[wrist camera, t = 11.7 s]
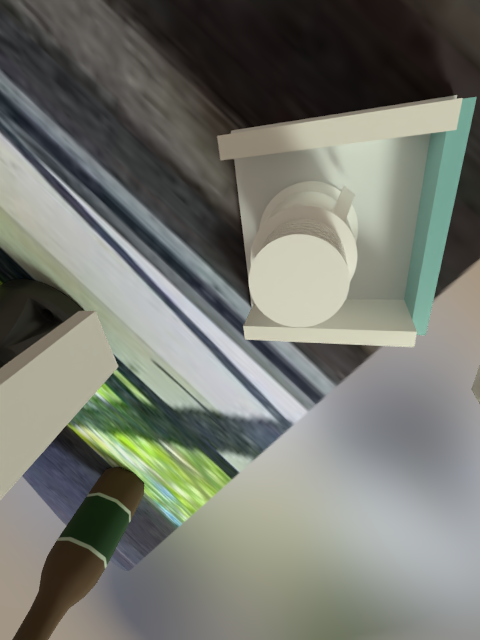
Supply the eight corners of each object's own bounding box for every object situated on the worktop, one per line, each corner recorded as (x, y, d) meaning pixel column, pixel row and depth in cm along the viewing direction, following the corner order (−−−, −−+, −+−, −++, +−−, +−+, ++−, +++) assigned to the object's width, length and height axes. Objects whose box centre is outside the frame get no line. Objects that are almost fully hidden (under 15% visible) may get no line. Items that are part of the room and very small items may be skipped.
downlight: (307, 298, 25) (298, 375, 17) (239, 245, 24) (193, 298, 16) (385, 218, 21) (427, 267, 12) (306, 151, 20) (294, 154, 12)
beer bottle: (137, 499, 54) (22, 711, 34) (99, 475, 53) (-41, 680, 33) (154, 484, 50) (34, 718, 30) (113, 459, 49) (-38, 682, 29)
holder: (253, 310, 28) (239, 342, 24) (232, 130, 21) (207, 130, 17) (414, 313, 24) (430, 351, 20) (454, 95, 17) (491, 84, 13)
